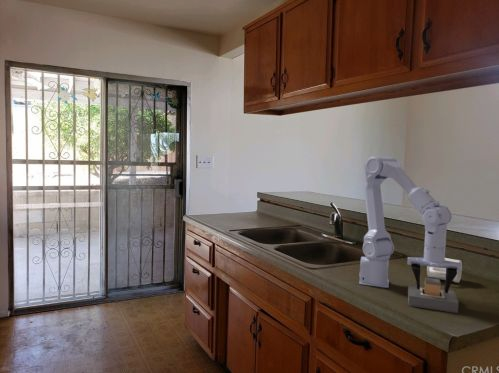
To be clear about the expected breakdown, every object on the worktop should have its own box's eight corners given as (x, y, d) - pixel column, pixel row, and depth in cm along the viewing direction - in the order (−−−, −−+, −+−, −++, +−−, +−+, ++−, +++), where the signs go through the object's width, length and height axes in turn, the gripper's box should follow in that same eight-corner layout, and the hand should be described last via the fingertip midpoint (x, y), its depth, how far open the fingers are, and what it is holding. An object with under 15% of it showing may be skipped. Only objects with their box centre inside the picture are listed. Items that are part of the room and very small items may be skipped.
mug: (432, 274, 146) (433, 253, 146) (461, 280, 140) (462, 258, 139) (423, 281, 137) (424, 259, 136) (454, 288, 131) (455, 265, 130)
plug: (424, 303, 115) (425, 281, 115) (423, 299, 119) (425, 277, 119) (439, 306, 114) (440, 283, 113) (437, 301, 118) (439, 279, 117)
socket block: (408, 305, 114) (409, 295, 113) (407, 293, 124) (408, 284, 123) (457, 313, 109) (458, 302, 109) (452, 300, 119) (453, 290, 119)
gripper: (409, 246, 114) (406, 290, 115) (464, 251, 109) (461, 298, 110) (408, 241, 120) (406, 283, 121) (460, 246, 115) (457, 290, 116)
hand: (432, 290), depth 116 cm, fingers open, 7 cm apart
